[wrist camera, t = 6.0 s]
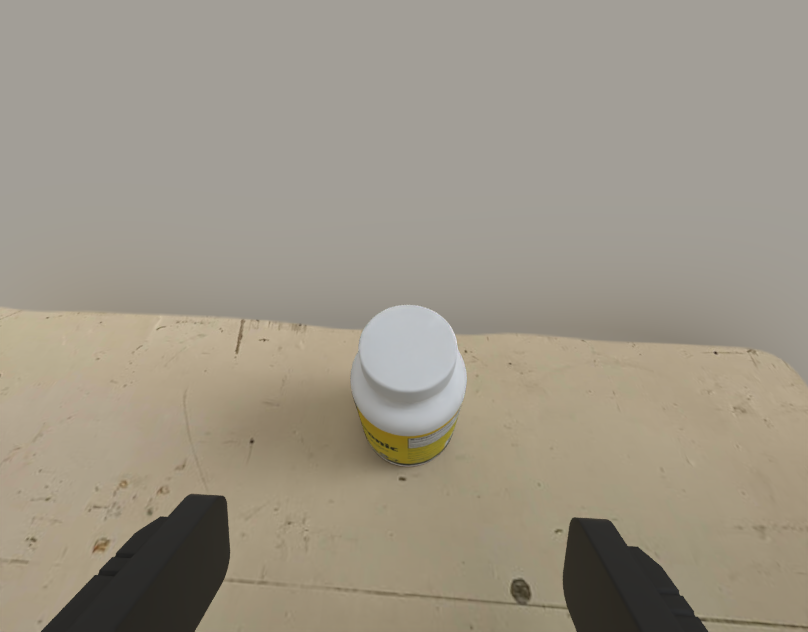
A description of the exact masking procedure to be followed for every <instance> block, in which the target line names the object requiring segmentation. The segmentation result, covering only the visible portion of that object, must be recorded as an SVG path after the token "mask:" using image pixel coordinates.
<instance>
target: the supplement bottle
mask: <svg viewBox="0 0 808 632" xmlns="http://www.w3.org/2000/svg"><path fill="white" fill-rule="evenodd" d="M350 379H351V389H352V395H353V398H354V401H355V404H356V407H357V410H358V413H359V416H360V420H361V423H362V426H363V429H364V432H365V435H366V438H367V440H368V442H369V444H370V445H371V447H372V448H373V450H374V451H375V452H376V453H377V454H378V455H379V456H380V457H382V458H383V459H384V460H386V461H388V462H390V463H392V464H395V465H399V466H407V467H410V466H418V465H422V464H425V463H427V462H429V461H431V460H433V459H434V458H436V457H437V456H438V455H439V454H440V453H441V452H442V451H443V450H444V449H445V448H446V446H447V445H448V443H449V441H450V439H451V437H452V434H453V431H454V428H455V424H456V421H457V418H458V415H459V411H460V408H461V405H462V402H463V399H464V395H465V390H466V382H467V375H466V368H465V364H464V361H463V358H462V356H461V354H460V352H459V351H458V347H457V340H456V337H455V334H454V332H453V330H452V328H451V327H450V325H449V324H448V322H447V321H446V320H445V319H444V318H443V317H441V316H440V315H439V314H437V313H436V312H434V311H432V310H430V309H428V308H425V307H421V306H417V305H400V306H394V307H391V308H388V309H386V310H384V311H382V312H380V313H378V314H377V315H376V316H374V317H373V318H372V319H371V320H370V321H369V323H368V324H367V325H366V326H365V328H364V330H363V332H362V334H361V337H360V340H359V351H358V353H357V354H356V357H355V359H354V361H353V365H352V369H351V378H350Z"/></svg>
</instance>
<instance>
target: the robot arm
mask: <svg viewBox="0 0 808 632" xmlns="http://www.w3.org/2000/svg"><path fill="white" fill-rule="evenodd" d="M229 559H230V543H229V527H228V512H227V501H226V499H225V497H224V496H218V495H201V494H190V495H188V496H187V497H185V498H184V500H183V501H182V502H181V503H180V504H179V505H178V506H177V507H176V508H175V510H174V511H173V512H172V513H171V514H170V515H169V516H168V517H159V518H158V519H156V520H155V521H153V522H151V523H150V524H148V525H147V526H145V527H144V528H142V529H141V530H139V531H138V532H136V533H135V534H134V535H133V536H132V537H131V538H130V539H129V540H128V541H127V542H126V543H125V544H124V545H123V546H122V547H121V549H120V550H119V551H118V552H117V553H116V556H115V557H112V558H111V559H110V560H109V561H108V562H107V563H106V564H105V565H104V566H103V567H102V568H101V569H100V570H99V574H98V575H95V576H94V577H93V578H92V579H91V580H90V581H89V582H88V583H87V584H86V585H85V586H84V587H83V588H82V589H81V590H80V591H79V592H78V593H77V594H76V595H75V597H74V598H73V599H72V600H71V601H70V602H69V603H68V604H67V605H66V606H65V607H64V608H63V609H62V610H61V611H60V612H59V613H58V614H57V615H56V616H55V617H54V618H53V619H52V620H51V622H50V623H49V624H48V625H47V626H46V627H45V628H44V629H43V630H42V631H41V632H195V630H196V628H197V626H198V625H199V623H200V621H201V619H202V618H203V616H204V614H205V612H206V611H207V609H208V607H209V605H210V604H211V602H212V600H213V598H214V597H215V595H216V593H217V591H218V590H219V588H220V586H221V584H222V582H223V580H224V578H225V575H226V572H227V569H228V564H229ZM563 589H564V596H565V600H566V604H567V607H568V610H569V613H570V615H571V618H572V620H573V623H574V625H575V628H576V631H577V632H708V630H707V629H706V628H705V626H704V625H703V624H702V622H701V621H700V619H699V618H698V617H695V615H694V611H693V610H692V608H691V607H690V606H689V604H688V603H687V601H686V600H685V599H684V597H683V596H680V594H679V590H678V589H677V588H676V586H675V585H674V583H673V582H672V581H671V579H670V578H669V576H668V575H667V574H666V572H665V571H664V570H663V568H662V567H661V566H660V565H659V564H657V563H656V562H655V561H654V560H653V559H652V558H650V557H649V556H648V555H647V554H646V553H644V552H643V551H642V550H641V549H640V548H638V547H633V546H627V544H626V543H625V541H624V540H623V538H622V537H621V535H620V534H619V532H618V531H617V529H616V528H615V526H614V525H613V524H612V522H611V521H609V520H607V519H592V518H575V517H574V518H572V520H571V522H570V526H569V533H568V540H567V548H566V555H565V562H564V570H563Z"/></svg>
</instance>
